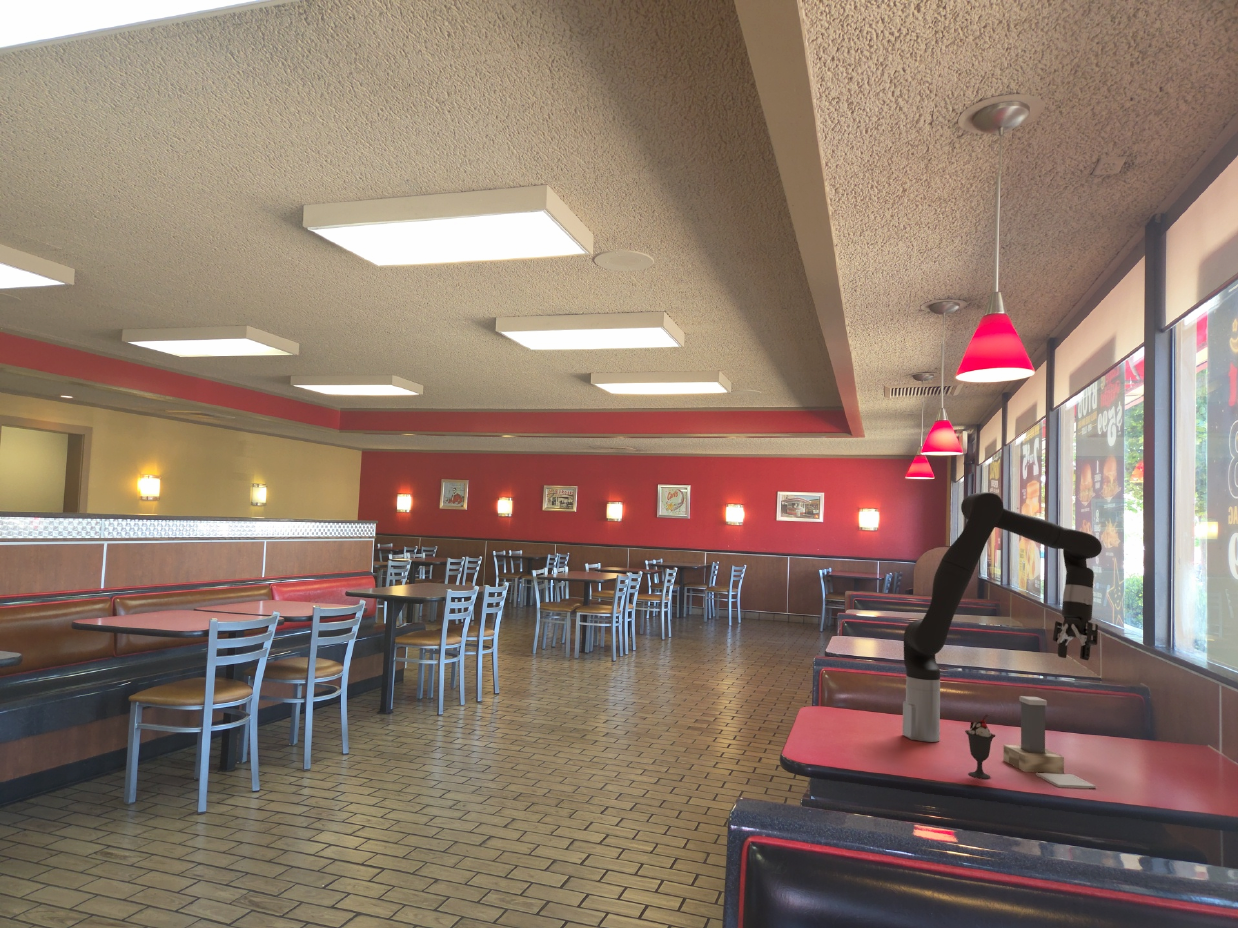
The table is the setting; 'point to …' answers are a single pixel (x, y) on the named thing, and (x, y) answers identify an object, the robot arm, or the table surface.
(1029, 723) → the plug
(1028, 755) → the square wooden socket block
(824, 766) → the table surface
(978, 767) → the sundae
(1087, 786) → the mat
